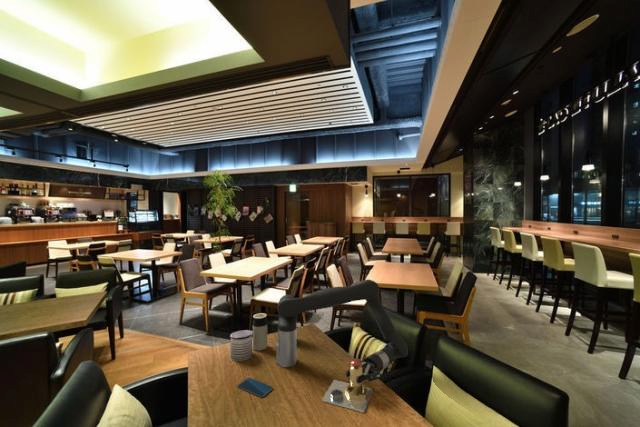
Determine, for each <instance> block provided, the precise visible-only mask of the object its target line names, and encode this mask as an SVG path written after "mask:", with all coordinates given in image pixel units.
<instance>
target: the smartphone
mask: <svg viewBox="0 0 640 427" xmlns="http://www.w3.org/2000/svg"><path fill="white" fill-rule="evenodd" d="M236 388H238V389H239V390H242V391H243V392H246V393H248V394H250V395H253V396H255V397H258V398H260V399H264V398H265V397H266V396H268V395H269V394H270V393H271V392H272V391H273V390H274V387H273V386H272V385H269V384H266V383H264V382H262V381H258V380H256V379H254V378H251V377H247V378H246V379H244V380H242V381H241V382H240V383H238V384H237V385H236Z"/></svg>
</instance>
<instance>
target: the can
mask: <svg viewBox="0 0 640 427" xmlns="http://www.w3.org/2000/svg"><path fill="white" fill-rule="evenodd" d="M229 336H230V337H229V338H230V359H231V360H232V361H234V362H242V361H246V360H249V359H250V358H251V357H252V356H253V330H249V329H246V330H245V329H244V330H237V331H234V332H231V333H230V335H229Z"/></svg>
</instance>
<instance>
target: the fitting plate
mask: <svg viewBox="0 0 640 427" xmlns="http://www.w3.org/2000/svg"><path fill="white" fill-rule="evenodd" d="M372 392H373V389H372V388H370V387H366V386H365V385H364V384H363V392H362V394H359V395H356V394H352V393H351V392H350V382H345V381H340V380H337V379H334V380H333V381H331V384H330V385H329V387H328V389H327V391H326V392H325V394H324V395H323V397H322V400H321V401H322V403H327V404H331V405H335V406H337V407H342V408H345V409H349V410H353V411H356V412H360V413H363V414H364V413H365V412H366V409H367V406H368V403H369V401H370V398H371V395H372Z"/></svg>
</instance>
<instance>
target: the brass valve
mask: <svg viewBox="0 0 640 427" xmlns="http://www.w3.org/2000/svg"><path fill="white" fill-rule="evenodd" d="M362 362H363V360H362V359H360V358H356V357H355V358H351V359H350V361H349V364H351V365H350V376H349V383H350V392H351V393H352V394H356V395H359V394H362V392H363V385H364V384H363V382H364V381H363V382H361V383H359V384H358V383H357V377H359V376H360V375H362V374H363V373H362Z"/></svg>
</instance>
